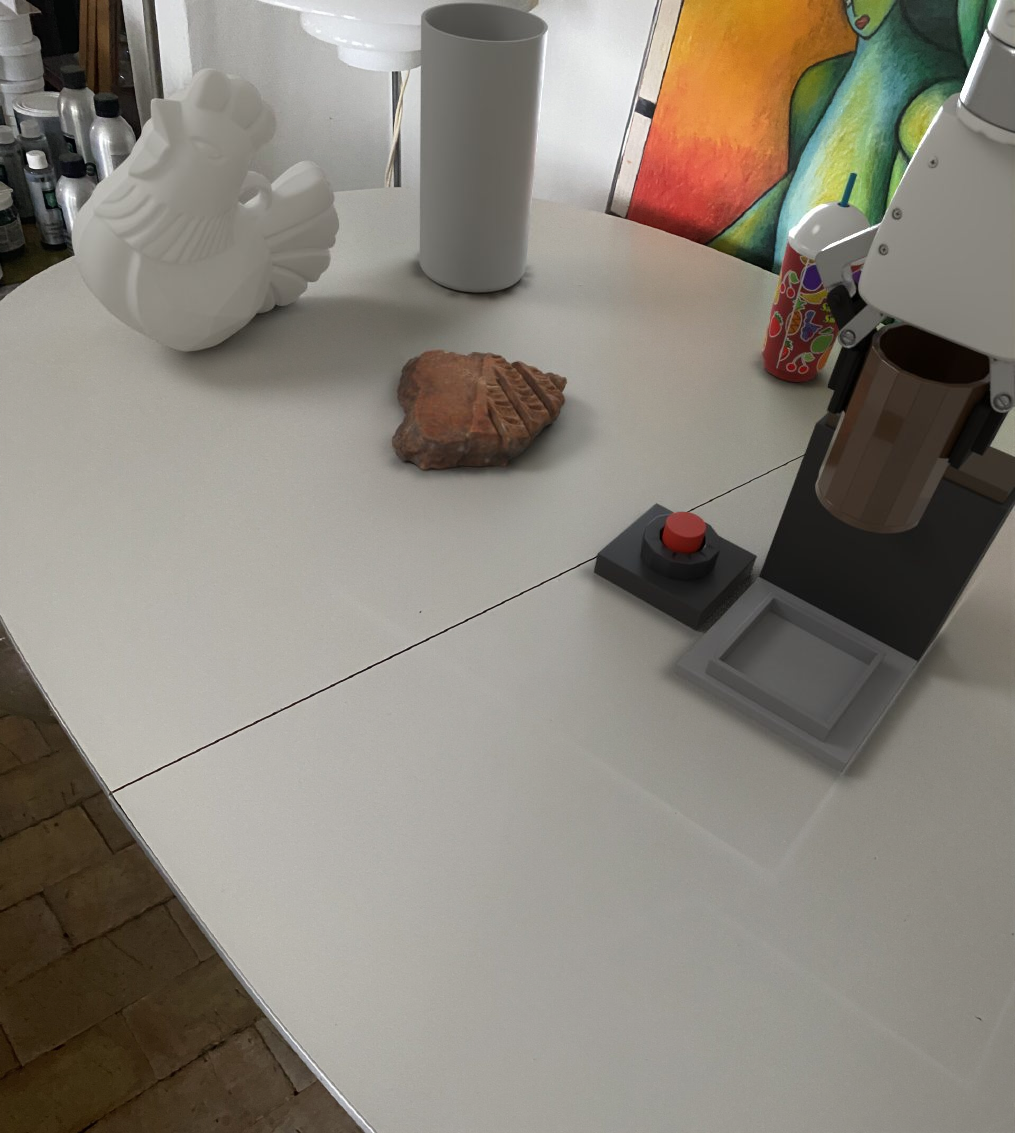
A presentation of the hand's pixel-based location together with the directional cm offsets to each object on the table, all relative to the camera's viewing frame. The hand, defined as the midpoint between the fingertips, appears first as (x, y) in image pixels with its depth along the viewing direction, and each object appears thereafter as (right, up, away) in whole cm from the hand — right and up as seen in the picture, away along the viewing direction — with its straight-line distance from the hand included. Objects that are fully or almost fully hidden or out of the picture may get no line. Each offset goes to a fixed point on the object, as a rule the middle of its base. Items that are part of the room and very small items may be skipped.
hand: (900, 428), depth 56 cm
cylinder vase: (-27, +33, +57) cm, 71 cm away
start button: (-9, -4, +21) cm, 23 cm away
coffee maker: (+1, -13, +19) cm, 23 cm away
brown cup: (0, -3, +4) cm, 5 cm away
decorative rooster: (-52, +22, +44) cm, 72 cm away
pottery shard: (-26, +10, +37) cm, 46 cm away
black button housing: (-9, -6, +24) cm, 26 cm away
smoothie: (+7, +19, +47) cm, 51 cm away
